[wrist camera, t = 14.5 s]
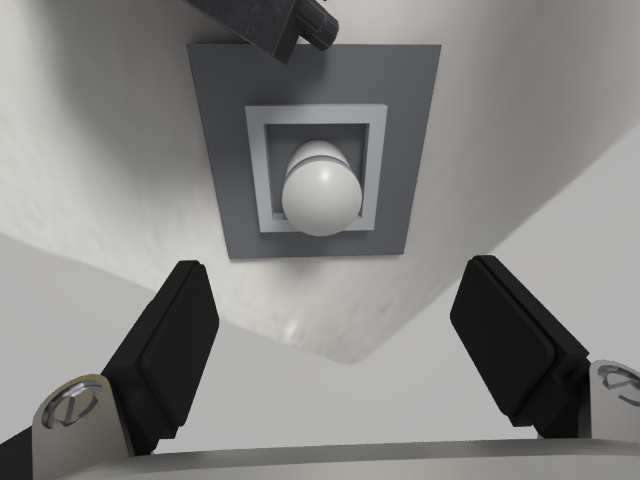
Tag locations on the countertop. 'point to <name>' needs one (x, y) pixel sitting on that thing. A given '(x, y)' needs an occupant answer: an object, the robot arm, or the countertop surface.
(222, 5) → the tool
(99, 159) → the countertop surface
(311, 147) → the white domed cylinder
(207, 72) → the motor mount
